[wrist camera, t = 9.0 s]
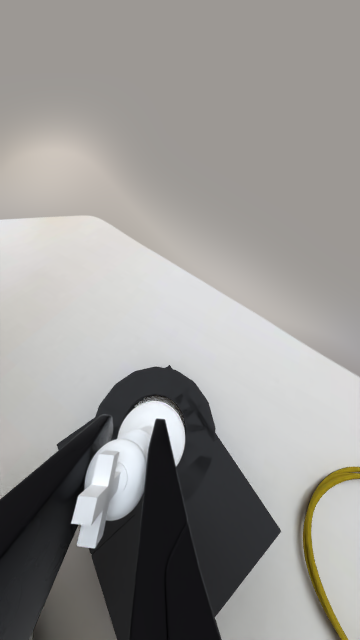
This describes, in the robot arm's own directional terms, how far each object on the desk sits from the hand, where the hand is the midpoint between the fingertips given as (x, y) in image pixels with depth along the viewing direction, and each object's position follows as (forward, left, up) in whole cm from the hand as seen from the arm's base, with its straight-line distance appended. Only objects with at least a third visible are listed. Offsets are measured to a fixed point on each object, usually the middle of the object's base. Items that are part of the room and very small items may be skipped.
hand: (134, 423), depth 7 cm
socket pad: (-4, +3, -11) cm, 12 cm away
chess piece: (-1, +1, -7) cm, 7 cm away
